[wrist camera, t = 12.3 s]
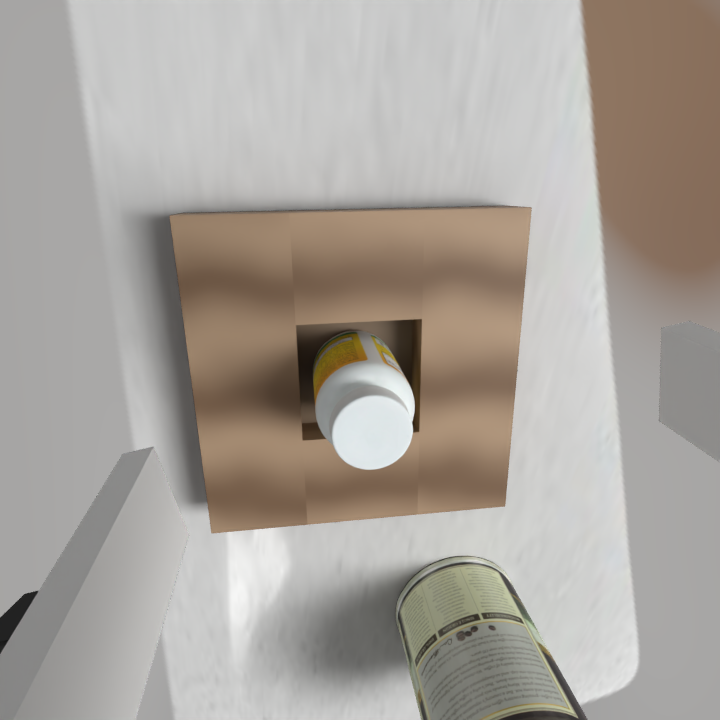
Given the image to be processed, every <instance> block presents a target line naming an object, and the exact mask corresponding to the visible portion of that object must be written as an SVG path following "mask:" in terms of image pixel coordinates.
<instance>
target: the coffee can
mask: <svg viewBox="0 0 720 720" xmlns="http://www.w3.org/2000/svg"><path fill="white" fill-rule="evenodd" d="M396 623H397V627H398V629H399V631H400V635H401V639H402V643H403V647H404V651H405V655H406V659H407V663H408V667H409V671H410V675H411V680H412V684H413V688H414V692H415V696H416V700H417V704H418V708H419V712H420V716H421V720H587V718H586V716H585V714H584V712H583V711H582V709H581V707H580V705H579V704H578V702H577V700H576V698H575V696H574V695H573V693H572V691H571V689H570V687H569V686H568V684H567V682H566V680H565V679H564V677H563V675H562V673H561V671H560V670H559V668H558V666H557V664H556V663H555V661H554V659H553V658H552V656H551V654H550V652H549V650H548V649H547V647H546V645H545V643H544V641H543V640H542V638H541V636H540V634H539V632H538V631H537V629H536V627H535V625H534V623H533V622H532V620H531V618H530V616H529V614H528V613H527V611H526V609H525V607H524V605H523V604H522V602H521V600H520V598H519V597H518V595H517V593H516V591H515V589H514V588H513V585H512V583H511V581H510V579H509V577H508V576H507V574H506V573H505V572H504V571H503V570H502V569H501V568H500V567H499V566H497V565H496V564H494V563H492V562H490V561H488V560H485V559H482V558H477V557H468V556H463V557H453V558H447V559H444V560H442V561H439V562H436V563H434V564H432V565H430V566H428V567H426V568H425V569H423V570H422V571H420V572H419V573H418V574H417V575H415V576H414V577H413V578H412V579H411V580H410V581H409V582H408V583H407V585H406V586H405V588H404V590H403V591H402V593H401V595H400V597H399V599H398V602H397V606H396Z"/></svg>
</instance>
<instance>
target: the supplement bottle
mask: <svg viewBox="0 0 720 720" xmlns="http://www.w3.org/2000/svg"><path fill="white" fill-rule="evenodd" d="M313 386H314V398H315V412H316V419H317V423H318V426H319V428H320V430H321V432H322V434H323V435H324V437H325V438H326V439H327V440H328V441H329V442H330V443H331V444H332V445H333V446H334V449H335V451H336V452H337V454H338V455H339V457H340V458H341V459H342V460H344V461H345V462H346V463H348V464H349V465H351V466H353V467H356V468H359V469H365V470H374V469H380V468H383V467H386V466H388V465H391V464H393V463H394V462H396V461H397V460H398V459H399V458H400V457H401V456H402V455H403V454H404V453H405V452H406V450H407V448H408V447H409V445H410V442H411V439H412V435H413V425H412V421H413V417H414V412H415V401H414V396H413V392H412V389H411V387H410V385H409V383H408V381H407V379H406V377H405V376H404V374H403V372H402V370H401V368H400V367H399V365H398V363H397V361H396V360H395V358H394V356H393V354H392V353H391V351H390V349H389V348H388V347H387V345H386V344H385V343H384V342H383V341H382V340H381V339H380V338H378V337H377V336H375V335H373V334H371V333H368V332H364V331H346V332H343V333H340V334H338V335H336V336H334V337H332V338H331V339H329V340H328V341H327V342H326V343H325V344H324V345H323V346H322V347H321V348H320V349H319V351H318V353H317V355H316V357H315V360H314V364H313Z"/></svg>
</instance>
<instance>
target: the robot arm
mask: <svg viewBox="0 0 720 720" xmlns="http://www.w3.org/2000/svg"><path fill="white" fill-rule="evenodd" d="M660 362H661V363H660V401H659V402H660V403H659V404H660V405H659V421H660V422H661V423H663V424H664V425H666V426H667V427H669V428H670V429H671V430H673V431H674V432H676V433H677V434H679V435H680V436H682V437H683V438H685V439H686V440H688V441H689V442H690V443H692V444H693V445H695V446H696V447H698V448H699V449H701V450H702V451H704V452H705V453H707V454H708V455H709V456H711V457H712V458H714V459H715V460H717V461H718V462H720V333H719V332H717V331H714V330H712V329H709V328H706V327H704V326H701V325H699V324H696V323H693V322H691V321H689V322H684V323H679V324H675V325H671V326H667V327H663V328H661V360H660ZM188 538H189V533H188V530H187V528H186V525H185V523H184V521H183V518H182V516H181V513H180V511H179V508H178V506H177V503H176V501H175V498H174V496H173V493H172V491H171V488H170V486H169V483H168V481H167V479H166V476H165V474H164V471H163V469H162V466H161V464H160V461H159V459H158V456H157V454H156V451H155V449H154V447H150V448H146V449H141V450H137V451H133V452H129V453H124V454H122V456H121V457H120V459H119V461H118V462H117V464H116V466H115V467H114V469H113V471H112V472H111V474H110V475H109V477H108V479H107V480H106V482H105V483H104V485H103V487H102V489H101V490H100V492H99V493H98V495H97V497H96V498H95V500H94V502H93V503H92V505H91V506H90V508H89V510H88V511H87V513H86V515H85V516H84V518H83V519H82V521H81V523H80V525H79V526H78V528H77V529H76V531H75V533H74V534H73V536H72V538H71V539H70V541H69V542H68V544H67V546H66V547H65V549H64V551H63V552H62V554H61V556H60V557H59V559H58V560H57V562H56V564H55V565H54V567H53V569H52V570H51V572H50V574H49V575H48V577H47V578H46V580H45V582H44V583H43V585H42V587H41V588H40V590H39V591H35V592H31V593H27V594H24V595H23V596H22V597H21V598H20V599H19V600H18V601H17V602H16V603H15V604H14V605H13V606H12V607H11V608H10V609H9V610H8V611H7V612H6V613H5V614H4V615H3V616H2V617H0V720H136V717H137V713H138V709H139V706H140V703H141V700H142V696H143V692H144V689H145V686H146V682H147V679H148V675H149V672H150V668H151V665H152V662H153V658H154V655H155V651H156V648H157V644H158V641H159V638H160V634H161V631H162V627H163V624H164V620H165V617H166V613H167V610H168V607H169V603H170V600H171V596H172V593H173V589H174V586H175V582H176V579H177V576H178V572H179V569H180V565H181V562H182V558H183V555H184V552H185V548H186V545H187V541H188Z"/></svg>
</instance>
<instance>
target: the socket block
mask: <svg viewBox="0 0 720 720" xmlns="http://www.w3.org/2000/svg"><path fill="white" fill-rule="evenodd" d="M531 209H532V208H531V207H518V206H471V207H425V208H380V209H334V210H289V211H243V212H197V213H180V214H175V215H170V224H171V232H172V239H173V247H174V254H175V262H176V269H177V277H178V284H179V292H180V299H181V307H182V314H183V322H184V329H185V337H186V344H187V352H188V360H189V367H190V375H191V382H192V390H193V397H194V405H195V412H196V420H197V427H198V435H199V442H200V450H201V457H202V465H203V473H204V480H205V488H206V495H207V503H208V510H209V518H210V525H211V533H221V532H232V531H243V530H253V529H264V528H275V527H286V526H297V525H308V524H319V523H329V522H340V521H351V520H362V519H373V518H384V517H395V516H405V515H416V514H427V513H438V512H449V511H460V510H471V509H481V508H492V507H503V506H505V501H506V490H507V479H508V468H509V456H510V445H511V434H512V423H513V411H514V400H515V389H516V378H517V366H518V355H519V344H520V333H521V321H522V310H523V299H524V288H525V277H526V265H527V254H528V243H529V232H530V220H531ZM346 331H364V332H368V333H371V334H373V335H375V336H377V337H378V338H380V339H381V340H382V341H383V342H384V343H385V344H386V345H387V347H388V348H389V349H390V351H391V353H392V354H393V356H394V358H395V360H396V361H397V363H398V365H399V367H400V368H401V370H402V372H403V374H404V376H405V377H406V379H407V381H408V383H409V385H410V387H411V389H412V392H413V396H414V401H415V412H414V417H413V421H412V425H413V435H412V439H411V442H410V445H409V447H408V448H407V450H406V452H405V453H404V454H403V455H402V456H401V457H400V458H399V459H398V460H397V461H396V462H394V463H393V464H391V465H388V466H386V467H383V468H380V469H374V470H365V469H359V468H356V467H353V466H351V465H349V464H348V463H346V462H345V461H344V460H342V459H341V458H340V457H339V455H338V454H337V452H336V451H335V449H334V446H333V445H332V444H331V443H330V442H329V441H328V440H327V439H326V438H325V437H324V435H323V434H322V432H321V430H320V428H319V426H318V423H317V419H316V412H315V398H314V386H313V364H314V360H315V357H316V355H317V353H318V351H319V349H320V348H321V347H322V346H323V345H324V344H325V343H326V342H327V341H328V340H329V339H331V338H332V337H334V336H336V335H338V334H340V333H343V332H346Z"/></svg>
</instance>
